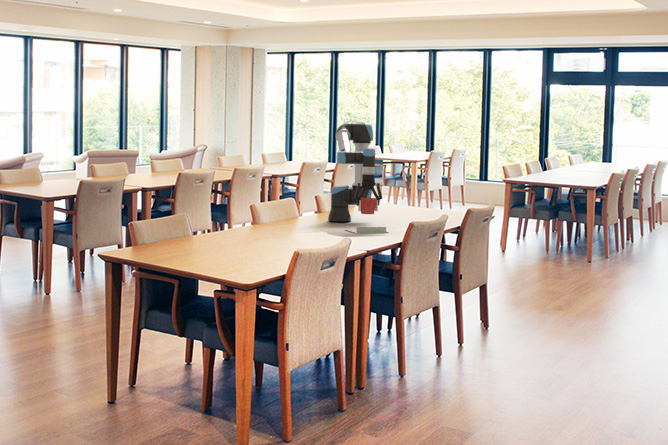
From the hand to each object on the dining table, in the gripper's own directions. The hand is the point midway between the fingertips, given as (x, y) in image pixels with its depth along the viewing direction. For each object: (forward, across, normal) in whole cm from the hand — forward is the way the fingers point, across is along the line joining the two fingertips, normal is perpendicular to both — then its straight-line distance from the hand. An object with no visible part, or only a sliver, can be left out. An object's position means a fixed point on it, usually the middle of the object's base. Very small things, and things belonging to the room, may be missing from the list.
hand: (367, 211), depth 461 cm
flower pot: (+2, 0, 0) cm, 2 cm away
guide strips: (+13, 0, +2) cm, 13 cm away
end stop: (+13, 0, -7) cm, 14 cm away
